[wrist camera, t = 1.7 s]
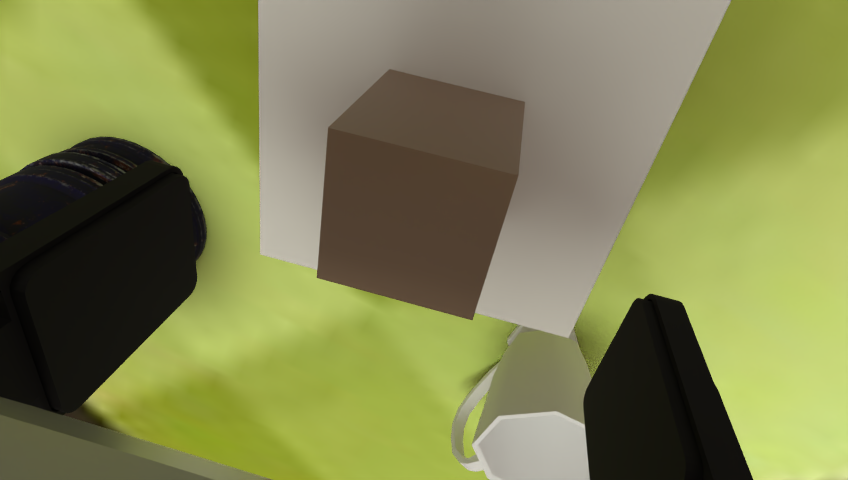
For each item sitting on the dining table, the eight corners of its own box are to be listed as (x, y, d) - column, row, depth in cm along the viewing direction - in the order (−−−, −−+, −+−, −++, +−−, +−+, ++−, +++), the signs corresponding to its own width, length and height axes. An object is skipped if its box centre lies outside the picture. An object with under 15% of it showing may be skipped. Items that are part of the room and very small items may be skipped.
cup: (627, 356, 30) (651, 480, 23) (496, 412, 35) (486, 528, 28) (557, 279, 28) (562, 390, 21) (429, 349, 33) (401, 458, 26)
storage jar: (154, 118, 28) (-159, 275, 15) (235, 263, 32) (44, 474, 20) (30, 153, 31) (-316, 307, 18) (119, 280, 35) (-108, 473, 23)
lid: (278, -126, 13) (114, -157, 8) (726, -28, 13) (854, 5, 7) (274, 238, 20) (182, 345, 15) (567, 316, 19) (576, 459, 14)
